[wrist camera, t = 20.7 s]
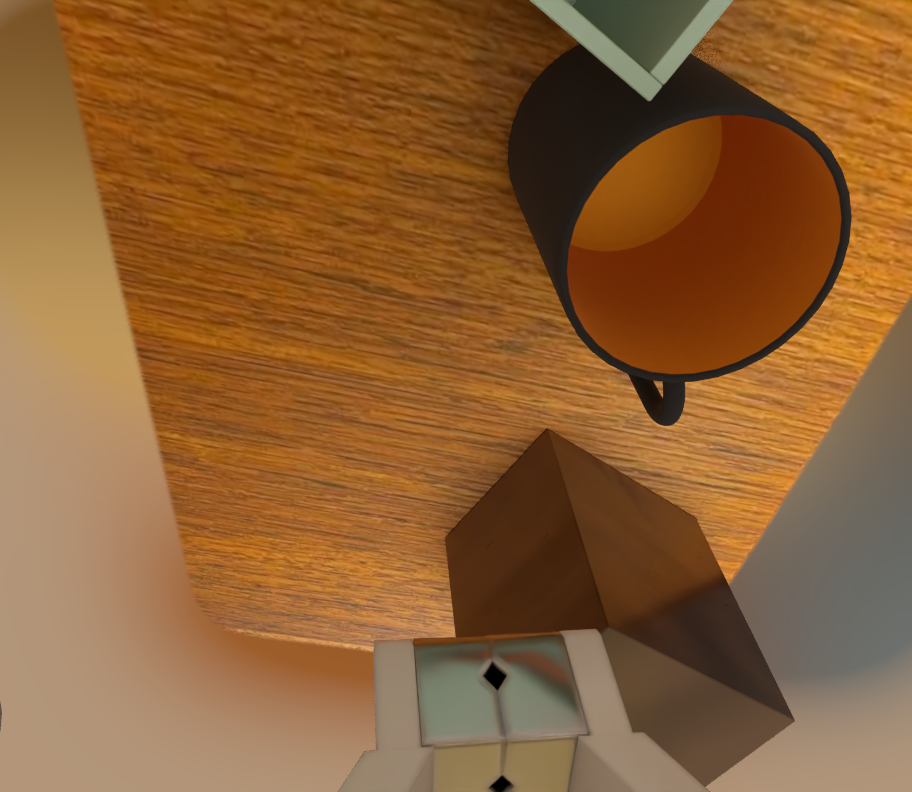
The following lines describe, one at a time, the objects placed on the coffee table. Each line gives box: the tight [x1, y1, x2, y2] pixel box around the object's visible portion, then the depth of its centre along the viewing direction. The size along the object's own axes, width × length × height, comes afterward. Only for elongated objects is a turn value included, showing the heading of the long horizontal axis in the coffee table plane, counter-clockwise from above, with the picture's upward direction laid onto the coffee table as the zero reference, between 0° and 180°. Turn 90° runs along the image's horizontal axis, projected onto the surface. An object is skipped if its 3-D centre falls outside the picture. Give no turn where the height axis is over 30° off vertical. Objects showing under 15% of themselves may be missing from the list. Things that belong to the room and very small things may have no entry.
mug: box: [508, 45, 851, 426], centre depth 29 cm, size 8×12×10 cm
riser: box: [445, 429, 795, 787], centre depth 37 cm, size 10×8×12 cm
